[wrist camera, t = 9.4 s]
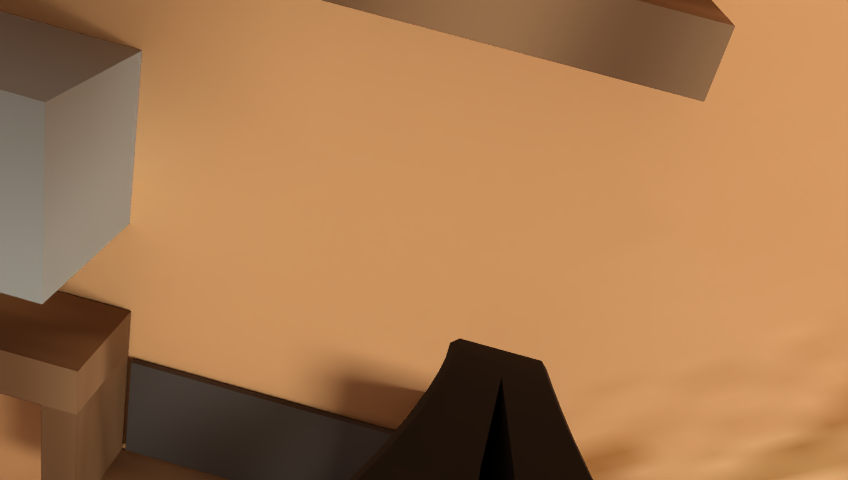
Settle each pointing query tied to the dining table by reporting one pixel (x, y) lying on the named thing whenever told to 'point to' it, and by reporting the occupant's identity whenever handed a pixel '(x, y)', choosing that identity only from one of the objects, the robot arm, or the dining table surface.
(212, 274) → the dining table surface
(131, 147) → the block
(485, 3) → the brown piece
